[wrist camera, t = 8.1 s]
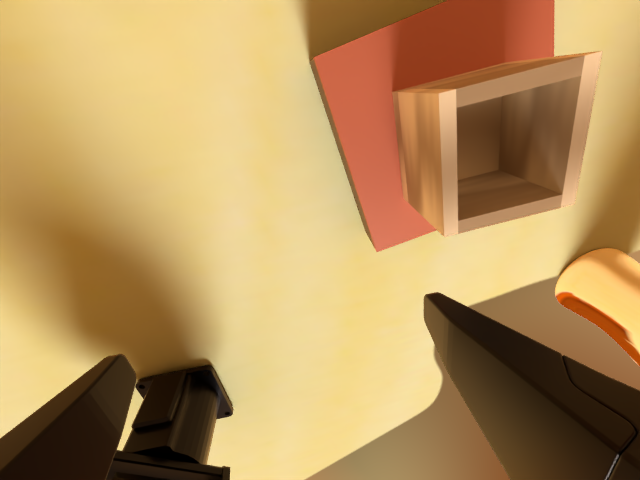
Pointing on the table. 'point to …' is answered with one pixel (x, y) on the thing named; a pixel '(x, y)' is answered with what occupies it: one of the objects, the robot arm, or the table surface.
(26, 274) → the table surface
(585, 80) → the masu
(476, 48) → the red square block
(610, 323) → the beer glass
